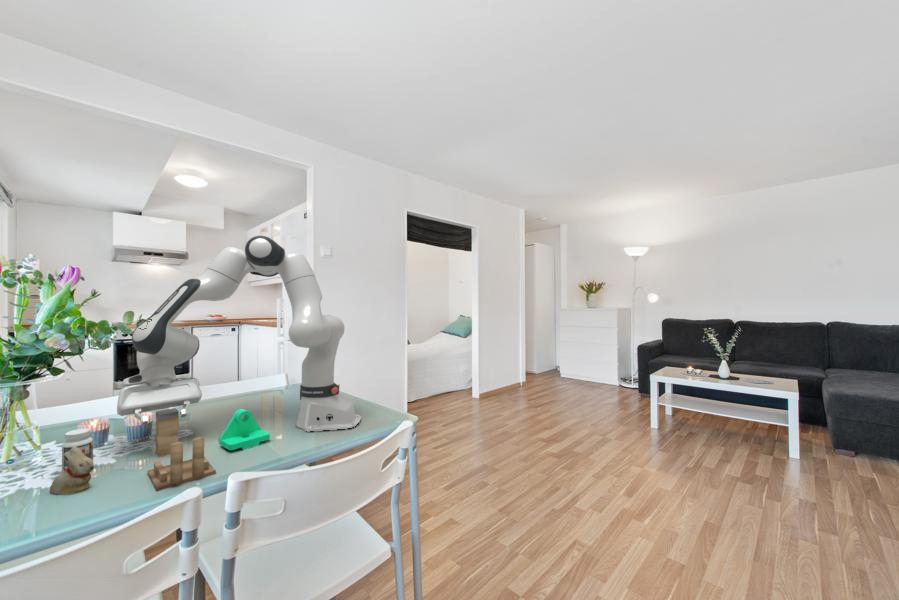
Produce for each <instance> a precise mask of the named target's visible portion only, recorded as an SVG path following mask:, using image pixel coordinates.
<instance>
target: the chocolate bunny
mask: <svg viewBox="0 0 899 600" xmlns="http://www.w3.org/2000/svg"><path fill="white" fill-rule="evenodd" d="M63 458H64V460H65V462H66V463H67V466H68V468H67V470H66V471H65V472H61V473H59V474H58V475H57V476H56V477H54V478H53V479H54V480H53V481H52V484H51V485H50V487H49V491H50V493H51V494H52V493H53V495H59V494H60V495H71V494H76V493H80V492H83V491H86V490H88V489H89V488H90V486H91V485H90V481H91V479H92V474H91V473H92V471H93V470H94V468H95V465H94V459H93V460H92V459H91V458H88V457H86V456H85V455H84V454H83V452H82V451H81V450H80V449H79V448H78V447H73V448H71V450H69V451H68V452H66V453H64V455H63Z"/></svg>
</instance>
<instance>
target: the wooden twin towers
mask: <svg viewBox="0 0 899 600" xmlns="http://www.w3.org/2000/svg"><path fill="white" fill-rule="evenodd" d="M215 474H217V470H216V468H214V466H213V465H211V463H210V461H209V460H208V459H207V458H206V457H205V437H203V436H202V437H195V438H193V439H192V457H191V459H188V460H184V442H183V441H178V442H176V443H173V444H171V454H170V463H169V464H168V465H164V466H163V464H162V462H161V461H155V462H154V463H153V469H149V470H147V475H148V477H149V479H150V482H151V483H152V485H153V487H154V489H155V490H156V492H157V491H161V490H165V489H168V488H172V487H174V486H178V484H179V485H182V484H185V483H188V481H189V482H192V481H195V480H198V479H202V478H205V477H209V476H213V475H215ZM184 482H185V483H184ZM181 483H182V484H181Z"/></svg>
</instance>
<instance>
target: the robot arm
mask: <svg viewBox="0 0 899 600" xmlns="http://www.w3.org/2000/svg"><path fill="white" fill-rule="evenodd" d="M247 274H251V275H255V276H260V277H266V278H271V277H276V276H277V275H279V276H280V278H281V280H282V283H283V285H284V287H285V291H286V292H287V293H286V294H287V296H288V299H289V303H290V305H291V311H292V313H291V315H292V320H291V321H292V322H291V324H290V325H289V327H288V337H289V341H291V343H292V344H293V345H295V347H298V348H305V349H308V351H307V354H306V356H305V357H304V359H303V360H302V362H301V363H302V364H301V383H300V385H299V386H300V388H299V400H300V404H299V411H298V415H297V420H296V423H295V426H296V427H297V428H299V429H302V430H303V431H305V432H306V431H307V432H306V433H311V432H310V431H314V432H324V431H323V430H330V431H338V430H337V429H345V428H352V427H354V426H356V425H357V424H358V423H359V422H360V420H361V421H362V416H361V415H360V414H357V413H356V410H355V406H354V403H353V402H352V401H350V400H349V399H348V398H347V397H345V396H344V395H342V394H341V393H340V386H341V385H340V383H339V384H337V383H336V382H334V381H335V361H336V355H337V351H338V348H339V344H340V341H341V339H342V337H343V335H344V334H345V330H346V329H345V328H346V327H345V323H344V322H343V321H342V320H341V319H340V318H339V317H337V316H334V315H331V314H325V315H323V314H322V308H321V301H322V300H323V294H322V291H321V289H320V285H319V283H318V281H317V278H316V276H315V273H314V270H313V268H312V266H311V265H310V262H309V261H308V258H306V256H305V255H304V254H303V253H301V252H288V253H287V252H286V251H285V248H284V247H282V246H281V245H280V244H278V243H277V242H276V241H275V240H273V239H272V238H270V237H269V236H266V235H256V236H253V237H251V238H249V240H248V241H247V242H246V244H245V247H244V249H240V248H238V247H235V246H228V247H225V248H223V249H222V250H221V251H220V252H219V253H218V254H217V255H216V256H215V257H214V258H213V259H212V260H211V262H210V263H209V265H208V266H207V268H206V269H204V271H203V272H202V273H201V274H200V275H199V276H197V277H195V278H190V279H187V280H186V281H184V282H183V283H182V284H181V285H180V286H179V287H178V288H177V289H175V290H174V292H173V293H171V294H170V296H168V298H167V299H166V300H165V301H164V302H163V303H162V304H161V305H160V306H159V307H158V308H157V309H156V310H155V311H154V312H153V313H152V314H151V315H150V316H149V317H148V318H147V319H152V321H151V320H148V321H150V322H148V325H147V322H146V320H147V319H145V320H144V321H143V322H141V323H140V324H139V325H138V326H136V327H135V329H134V330H133V332H132V333H131V342H132V345H133V347H134V349H135V350H136V365H137V367H138V369H139V373H138V374H135V375H132V376H129V377H126V378H124V379H123V381H122V383H121V386H120V391H119V394H118V398H117V404H116V414H117V415H118V416H121V417H124V416H129V415H133V417H134V418H136V419H137V420H138V421H139V423H140V426H144V425H148V423H149V420H148V416H147V415H146V416H144V415H142V413H146V412H154V411H160V410H166V409H172V408H176V407H181V406H182V407H183V408H184V409H181V410H180V411H179V415H180V418H187V417H188V409H189V407H190V405H192V404H198V403H199V402H200V400H202V395H203V393H202V390H201V388H200V381H199V379H198V378H197V377H193V376H188V377H178V378H177V377H176V372H175V367H177V366H180V365H182V364H184V363H186V362H188V361H190V360H191V359H193V358H194V357H195V356H196V355H197V354H198V352H199V350H200V339H199V337H198V336H197V335H195V334H193V333H190V332H188V331H186V330H183V329H181V328H178V327H175V326H172V323H174V321H175V320H176V319H177V318H178V316H180V315H181V313H182V312H183V311H184V310H185V309H186V308H187V307H188V306H189V305H191V303H194V302H197V301H208V302H210V301H211V302H219V301H224V300H227V299H229V298H230V297H232V296H233V294H235V292H236V291H237V290H238V287H240V284H241V282H242V281H243V279H244V278H245V277H246V276H247ZM146 325H147V327H146ZM148 326H149V327H148ZM137 328H141V329H144V328H147V329H144V330H141V329H137ZM360 423H361V422H360ZM360 423H359V424H360ZM357 426H358V425H357ZM357 426H356V427H357ZM354 428H355V427H354ZM352 429H353V428H352ZM345 430H346V429H345Z"/></svg>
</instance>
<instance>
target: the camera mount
mask: <svg viewBox="0 0 899 600" xmlns="http://www.w3.org/2000/svg"><path fill="white" fill-rule="evenodd" d="M270 439H271V433H270V432H268V431H266V430H264V429H263V428H262V427H261V426H260V424H258V422H257V420H255V418H254V417H253V413H252V412H251V411H249V410H247V409H244V408H240V409H237V410H236V411H235V412H234V413H233V415H232V417H231V418H230V420H229V422H228V424H227V425H226V427H225V429H224V430H223V432H222V433H221V436H220V437H219V439H218V445H220V446H222V447H223V448H225V449H227V450H228V451H233V450H237V449H240V448H241V449H240V450H242V449H243V451H244V449H245V450H247V448H248V449H251V448H254V446H255V447H258V446H260V443H261V442H264V441H268V440H270ZM257 445H258V446H257ZM250 447H251V448H250Z"/></svg>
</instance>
